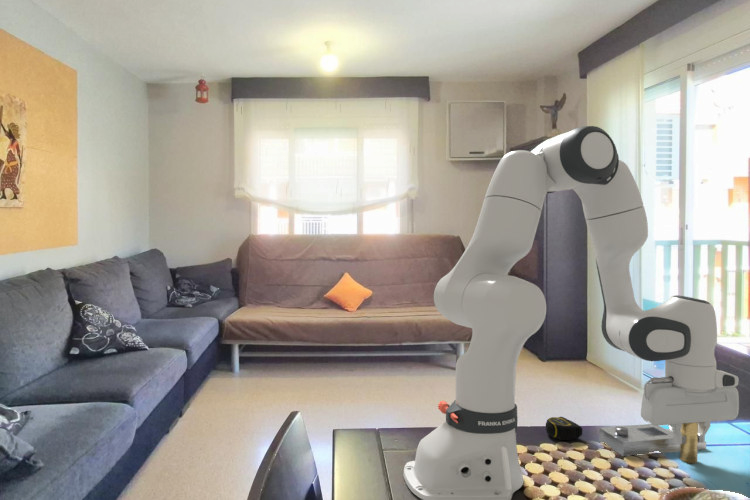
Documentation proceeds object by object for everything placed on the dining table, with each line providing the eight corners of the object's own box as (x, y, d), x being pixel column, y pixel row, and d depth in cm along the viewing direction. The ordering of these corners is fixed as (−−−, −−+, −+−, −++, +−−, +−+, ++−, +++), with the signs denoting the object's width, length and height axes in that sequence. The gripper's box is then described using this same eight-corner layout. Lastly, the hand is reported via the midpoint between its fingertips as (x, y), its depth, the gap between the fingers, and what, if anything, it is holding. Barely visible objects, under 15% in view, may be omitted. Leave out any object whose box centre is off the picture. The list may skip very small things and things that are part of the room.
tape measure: (584, 441, 113) (584, 424, 113) (558, 444, 111) (558, 428, 111) (563, 430, 120) (564, 414, 120) (539, 433, 118) (539, 417, 118)
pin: (688, 463, 101) (688, 414, 101) (676, 457, 104) (677, 409, 104) (700, 462, 102) (701, 413, 101) (689, 456, 105) (689, 408, 104)
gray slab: (623, 456, 105) (623, 436, 105) (599, 441, 113) (599, 422, 113) (706, 449, 108) (706, 429, 108) (677, 434, 116) (677, 416, 116)
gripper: (656, 382, 98) (655, 453, 98) (745, 377, 101) (744, 445, 102) (634, 373, 104) (633, 440, 104) (719, 369, 107) (717, 433, 108)
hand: (688, 442), depth 103 cm, fingers closed on pin, 3 cm apart
